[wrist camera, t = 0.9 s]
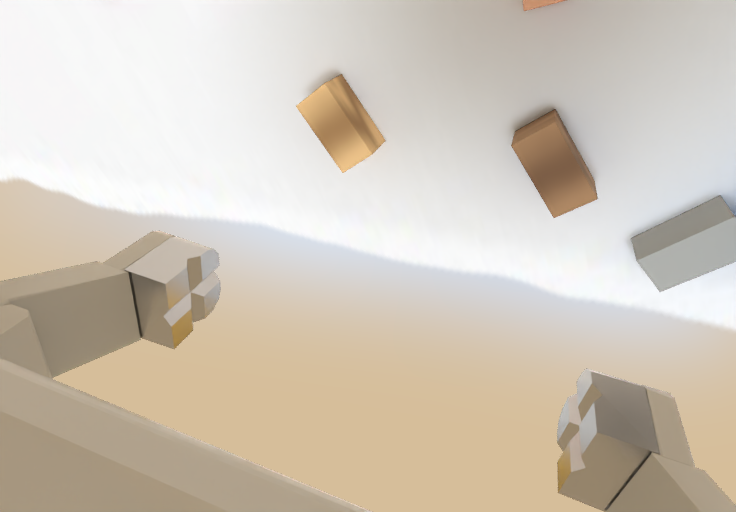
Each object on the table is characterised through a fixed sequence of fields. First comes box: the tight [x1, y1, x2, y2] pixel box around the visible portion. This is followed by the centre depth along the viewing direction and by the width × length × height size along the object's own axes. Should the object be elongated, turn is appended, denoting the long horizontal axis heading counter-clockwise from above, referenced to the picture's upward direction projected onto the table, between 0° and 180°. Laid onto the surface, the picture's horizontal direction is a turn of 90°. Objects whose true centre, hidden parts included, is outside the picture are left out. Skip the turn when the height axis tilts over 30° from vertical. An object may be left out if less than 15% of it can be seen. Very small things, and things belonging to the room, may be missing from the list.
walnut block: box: [511, 109, 598, 218], centre depth 38 cm, size 7×4×4 cm, turn 37°
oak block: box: [296, 75, 385, 173], centre depth 42 cm, size 7×4×4 cm, turn 37°
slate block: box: [631, 196, 736, 292], centre depth 38 cm, size 7×4×4 cm, turn 133°
